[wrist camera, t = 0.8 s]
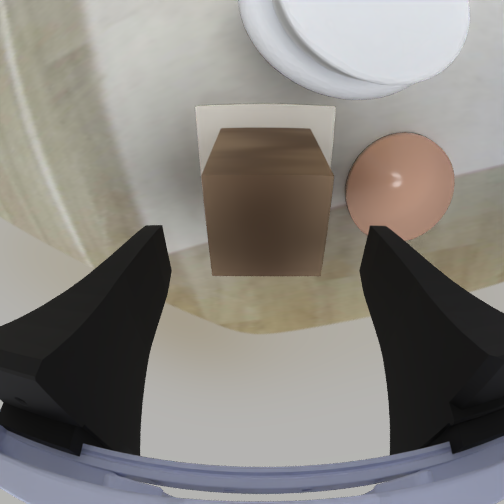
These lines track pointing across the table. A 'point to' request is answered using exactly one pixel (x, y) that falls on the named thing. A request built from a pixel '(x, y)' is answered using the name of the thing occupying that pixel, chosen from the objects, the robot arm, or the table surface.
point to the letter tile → (264, 123)
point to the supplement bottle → (357, 42)
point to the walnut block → (267, 202)
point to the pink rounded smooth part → (400, 185)
